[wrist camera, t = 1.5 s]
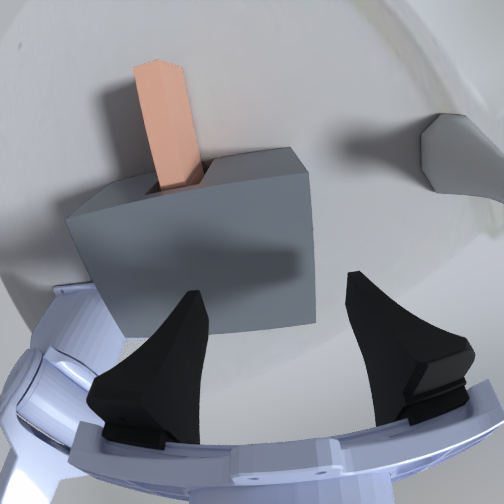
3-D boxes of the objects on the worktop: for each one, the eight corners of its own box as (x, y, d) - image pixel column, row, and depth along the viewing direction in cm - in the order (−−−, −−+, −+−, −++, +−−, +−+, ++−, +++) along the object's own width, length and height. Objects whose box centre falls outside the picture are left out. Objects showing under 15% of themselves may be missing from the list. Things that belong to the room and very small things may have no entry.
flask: (406, 126, 17) (497, 162, 9) (466, 102, 15) (555, 128, 7) (428, 204, 21) (499, 269, 12) (482, 175, 19) (555, 224, 10)
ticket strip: (209, 269, 24) (200, 311, 19) (162, 73, 15) (132, 67, 11) (226, 267, 24) (220, 310, 19) (182, 67, 15) (158, 59, 11)
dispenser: (148, 283, 25) (125, 337, 19) (110, 182, 20) (64, 219, 14) (301, 265, 24) (315, 323, 18) (290, 147, 19) (308, 172, 13)
